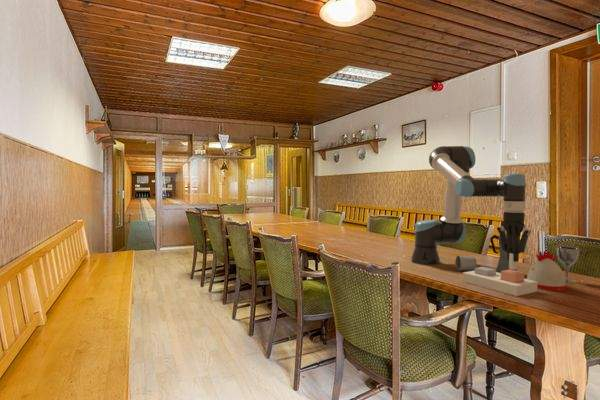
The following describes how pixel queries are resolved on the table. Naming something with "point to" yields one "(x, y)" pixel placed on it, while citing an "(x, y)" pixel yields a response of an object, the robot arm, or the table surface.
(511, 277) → the pink rounded block
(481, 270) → the grey rounded block
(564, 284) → the beige red dome
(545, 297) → the table surface
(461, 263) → the grey cylinder
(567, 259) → the wine glass
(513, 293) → the panel
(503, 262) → the moka pot
